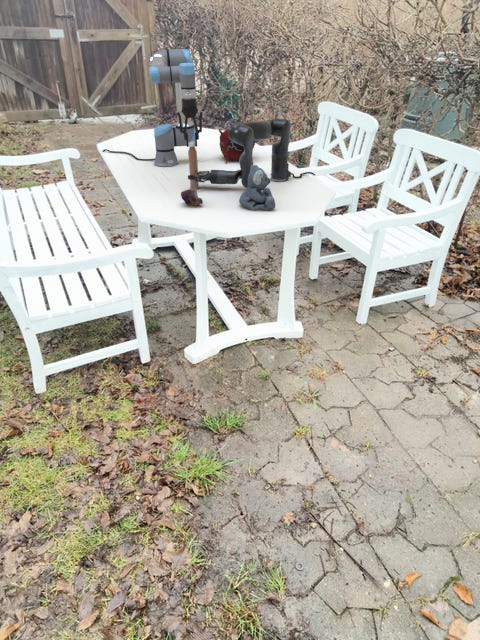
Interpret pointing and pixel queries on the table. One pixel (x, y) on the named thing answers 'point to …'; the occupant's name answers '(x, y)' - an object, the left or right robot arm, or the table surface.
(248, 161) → the right robot arm
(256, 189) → the koala plush
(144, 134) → the table surface
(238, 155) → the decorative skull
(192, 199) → the rock
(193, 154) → the bottle
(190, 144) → the cap
